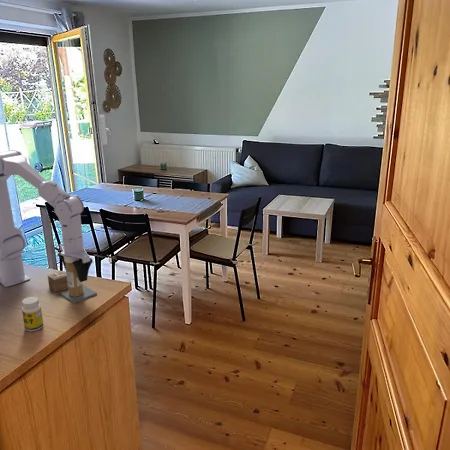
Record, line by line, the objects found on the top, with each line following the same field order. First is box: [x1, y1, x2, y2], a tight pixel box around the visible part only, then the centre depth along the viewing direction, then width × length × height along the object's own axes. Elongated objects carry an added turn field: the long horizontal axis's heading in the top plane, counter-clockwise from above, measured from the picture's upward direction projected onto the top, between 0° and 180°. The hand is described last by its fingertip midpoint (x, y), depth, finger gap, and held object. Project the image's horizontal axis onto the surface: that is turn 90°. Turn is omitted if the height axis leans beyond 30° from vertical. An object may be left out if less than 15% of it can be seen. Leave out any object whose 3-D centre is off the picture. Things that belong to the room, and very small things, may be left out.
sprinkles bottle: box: [64, 256, 83, 297], centre depth 131 cm, size 5×5×14 cm
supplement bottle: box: [21, 296, 44, 332], centre depth 115 cm, size 5×5×8 cm
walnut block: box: [47, 271, 68, 293], centre depth 138 cm, size 4×4×5 cm
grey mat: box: [60, 284, 98, 304], centre depth 134 cm, size 8×8×1 cm
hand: (76, 276), depth 132 cm, fingers open, 7 cm apart
